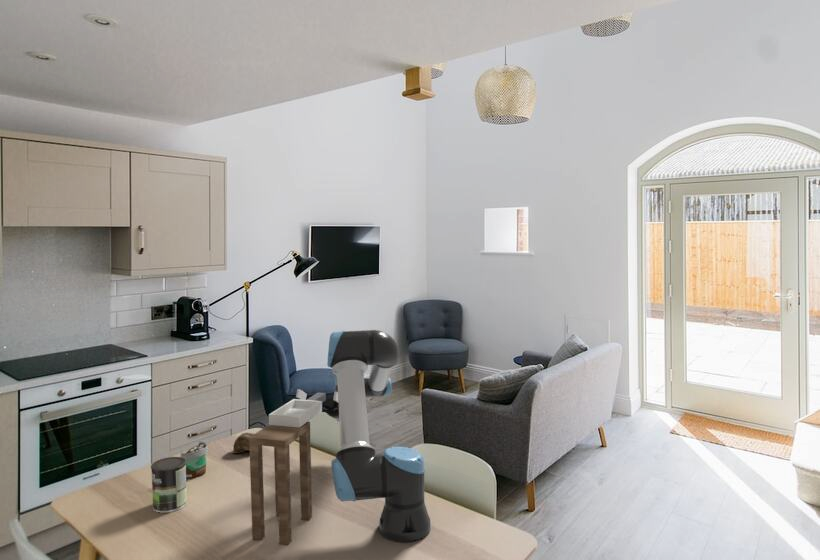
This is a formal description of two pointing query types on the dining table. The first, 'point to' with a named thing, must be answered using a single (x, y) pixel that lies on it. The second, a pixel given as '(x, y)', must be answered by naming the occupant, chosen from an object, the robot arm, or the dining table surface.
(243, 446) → the seashell
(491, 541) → the dining table surface
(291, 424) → the sliding tray
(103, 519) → the dining table surface
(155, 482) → the coffee can
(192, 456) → the food container
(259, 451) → the walnut stand
